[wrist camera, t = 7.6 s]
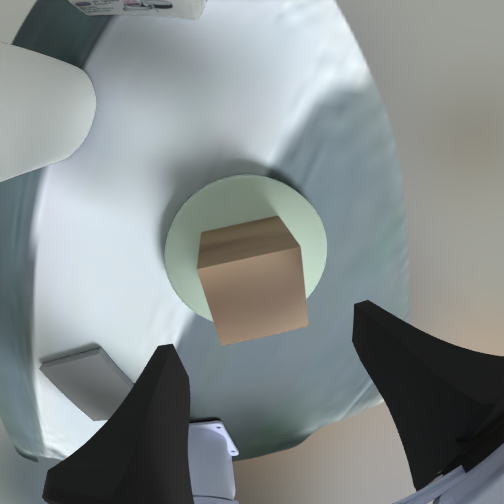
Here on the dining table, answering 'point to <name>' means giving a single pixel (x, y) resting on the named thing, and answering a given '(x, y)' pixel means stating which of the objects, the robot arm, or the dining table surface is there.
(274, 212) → the sage dish
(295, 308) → the walnut block
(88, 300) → the dining table surface
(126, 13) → the container
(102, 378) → the slate coaster
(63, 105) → the can
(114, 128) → the dining table surface
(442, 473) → the robot arm
